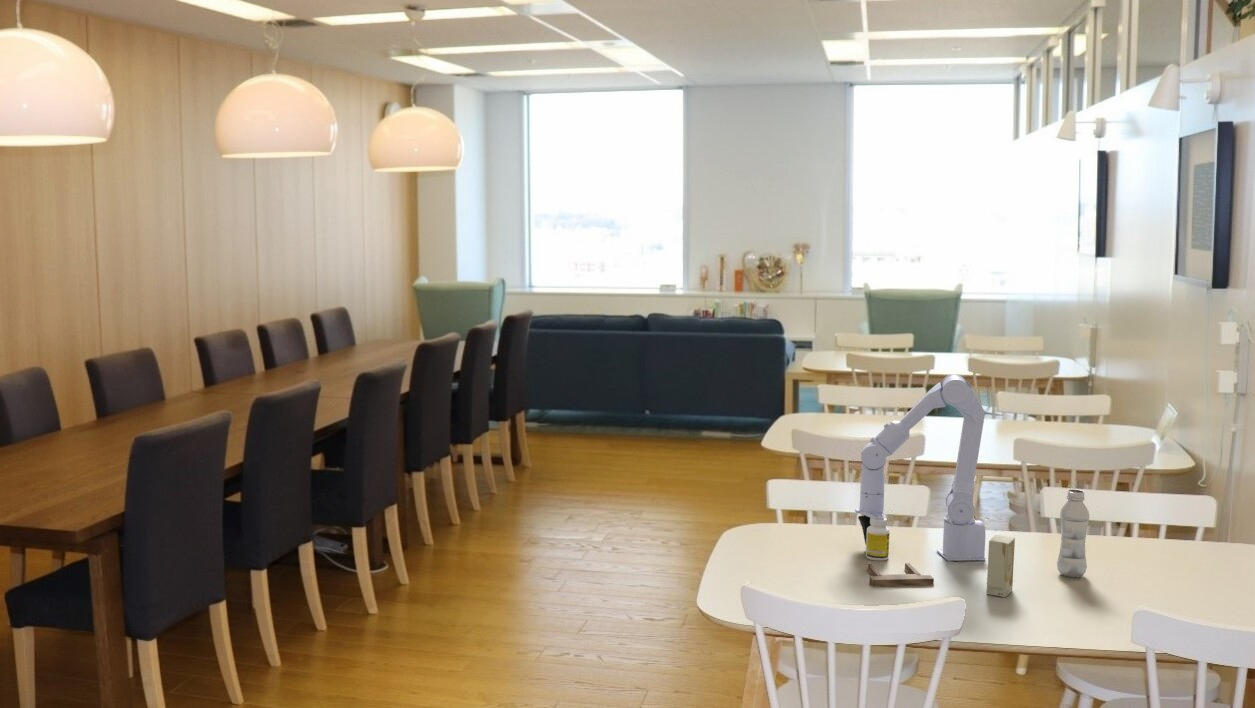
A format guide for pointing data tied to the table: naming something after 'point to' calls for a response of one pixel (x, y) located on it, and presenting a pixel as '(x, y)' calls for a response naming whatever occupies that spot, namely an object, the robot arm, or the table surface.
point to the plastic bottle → (1073, 535)
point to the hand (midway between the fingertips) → (870, 545)
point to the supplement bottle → (877, 540)
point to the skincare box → (1000, 565)
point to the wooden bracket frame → (899, 577)
